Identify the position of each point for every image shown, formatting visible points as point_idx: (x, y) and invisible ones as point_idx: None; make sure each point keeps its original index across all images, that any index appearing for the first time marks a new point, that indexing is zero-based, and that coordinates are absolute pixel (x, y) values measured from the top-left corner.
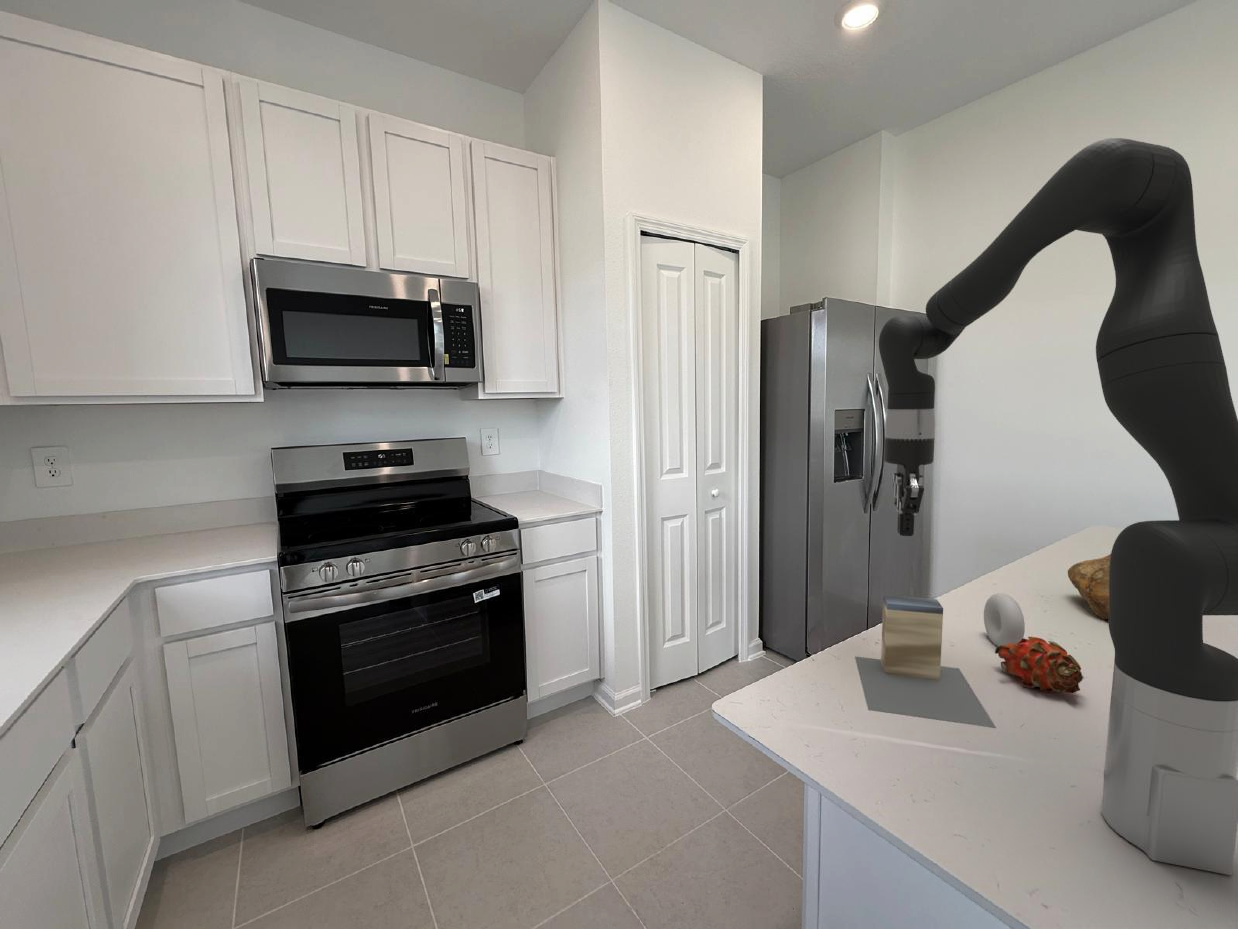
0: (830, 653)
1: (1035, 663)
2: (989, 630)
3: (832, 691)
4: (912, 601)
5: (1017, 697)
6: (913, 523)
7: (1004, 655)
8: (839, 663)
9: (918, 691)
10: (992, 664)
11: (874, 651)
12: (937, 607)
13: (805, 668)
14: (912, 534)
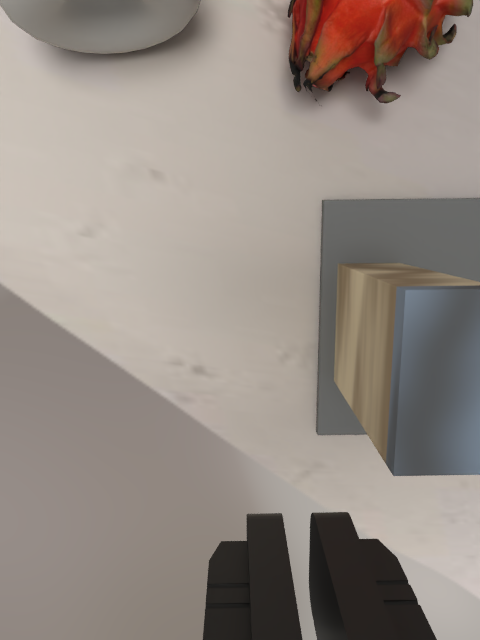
0: (294, 480)
1: (441, 11)
2: (98, 44)
3: (475, 485)
4: (450, 386)
5: (426, 95)
6: (376, 593)
7: (340, 74)
8: (343, 464)
9: None
10: (253, 97)
11: (254, 382)
12: None
13: (385, 532)
14: (348, 519)
